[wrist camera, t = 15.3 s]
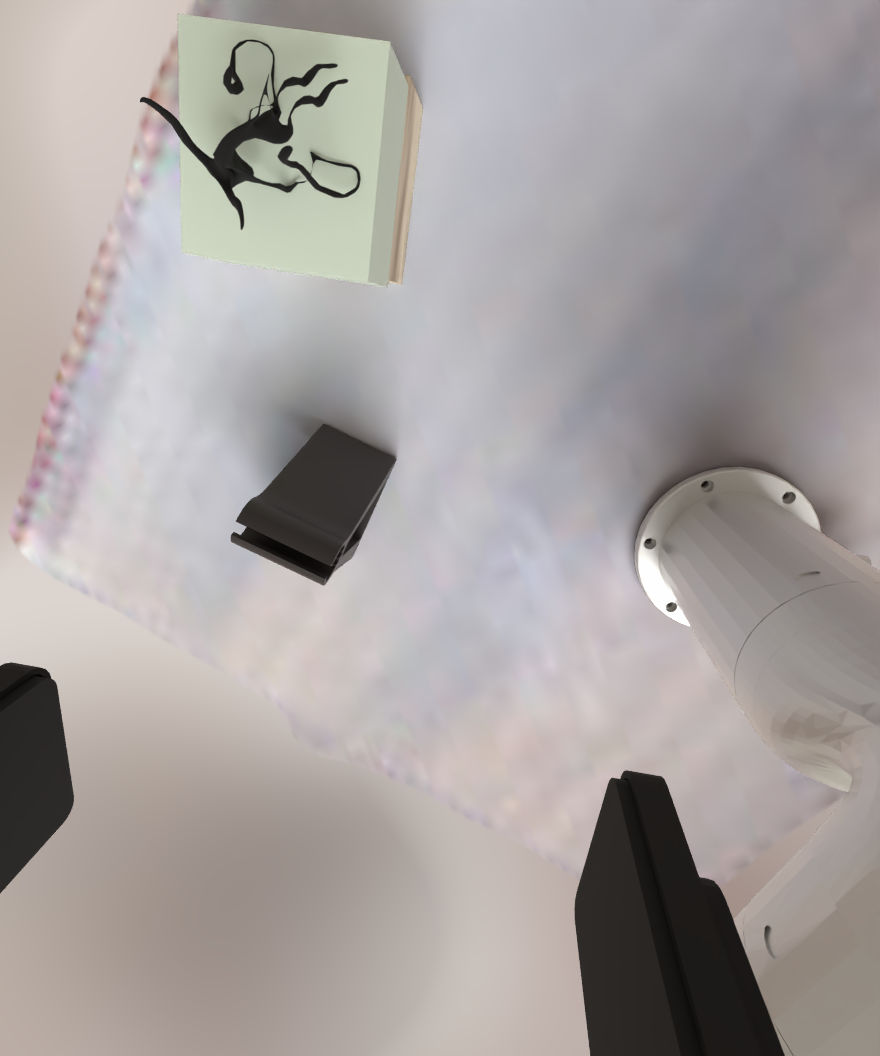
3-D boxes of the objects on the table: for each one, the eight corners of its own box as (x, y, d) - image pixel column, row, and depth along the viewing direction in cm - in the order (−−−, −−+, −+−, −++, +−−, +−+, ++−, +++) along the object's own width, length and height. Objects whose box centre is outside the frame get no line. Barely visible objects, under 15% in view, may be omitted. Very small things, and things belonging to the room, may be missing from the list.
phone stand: (325, 422, 41) (257, 458, 30) (397, 458, 42) (357, 507, 30) (285, 523, 45) (210, 590, 33) (353, 556, 45) (301, 633, 34)
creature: (292, 15, 26) (165, 129, 27) (263, -84, 21) (105, 61, 21) (397, 166, 28) (274, 270, 28) (395, 109, 22) (245, 238, 23)
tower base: (423, 109, 34) (410, 75, 30) (402, 284, 38) (387, 279, 33) (266, 86, 35) (229, 49, 30) (260, 261, 38) (226, 252, 34)
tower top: (408, 86, 30) (390, 41, 25) (387, 287, 33) (368, 281, 29) (228, 61, 30) (177, 13, 26) (226, 262, 34) (181, 252, 29)
